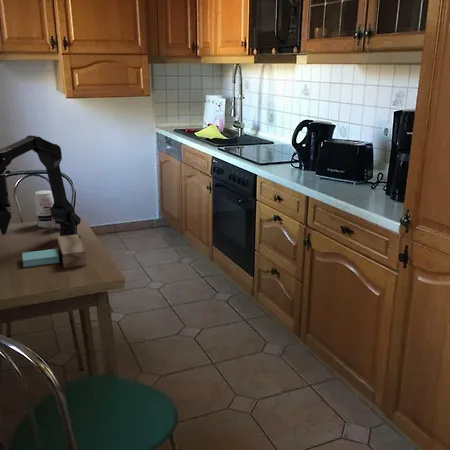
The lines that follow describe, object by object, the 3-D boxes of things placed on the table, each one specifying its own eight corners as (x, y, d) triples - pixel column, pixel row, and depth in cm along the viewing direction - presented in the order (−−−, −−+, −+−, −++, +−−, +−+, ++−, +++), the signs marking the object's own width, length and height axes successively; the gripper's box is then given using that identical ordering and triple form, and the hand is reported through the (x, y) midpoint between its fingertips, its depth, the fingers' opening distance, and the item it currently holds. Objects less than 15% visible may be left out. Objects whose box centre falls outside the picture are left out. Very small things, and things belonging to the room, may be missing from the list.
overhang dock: (64, 268, 180) (62, 254, 178) (58, 249, 197) (57, 236, 196) (86, 265, 183) (85, 251, 181) (78, 247, 200) (77, 234, 199)
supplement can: (49, 221, 231) (45, 188, 227) (60, 224, 227) (57, 191, 222) (33, 225, 225) (29, 192, 221) (45, 229, 221) (41, 195, 216)
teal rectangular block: (23, 267, 180) (22, 260, 180) (22, 259, 187) (21, 252, 187) (59, 262, 185) (58, 256, 184) (57, 255, 192) (56, 248, 191)
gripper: (-27, 184, 179) (-21, 227, 184) (-30, 197, 162) (-23, 244, 167) (7, 182, 183) (12, 224, 188) (8, 194, 167) (14, 240, 171)
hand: (3, 232), depth 178 cm, fingers open, 4 cm apart
